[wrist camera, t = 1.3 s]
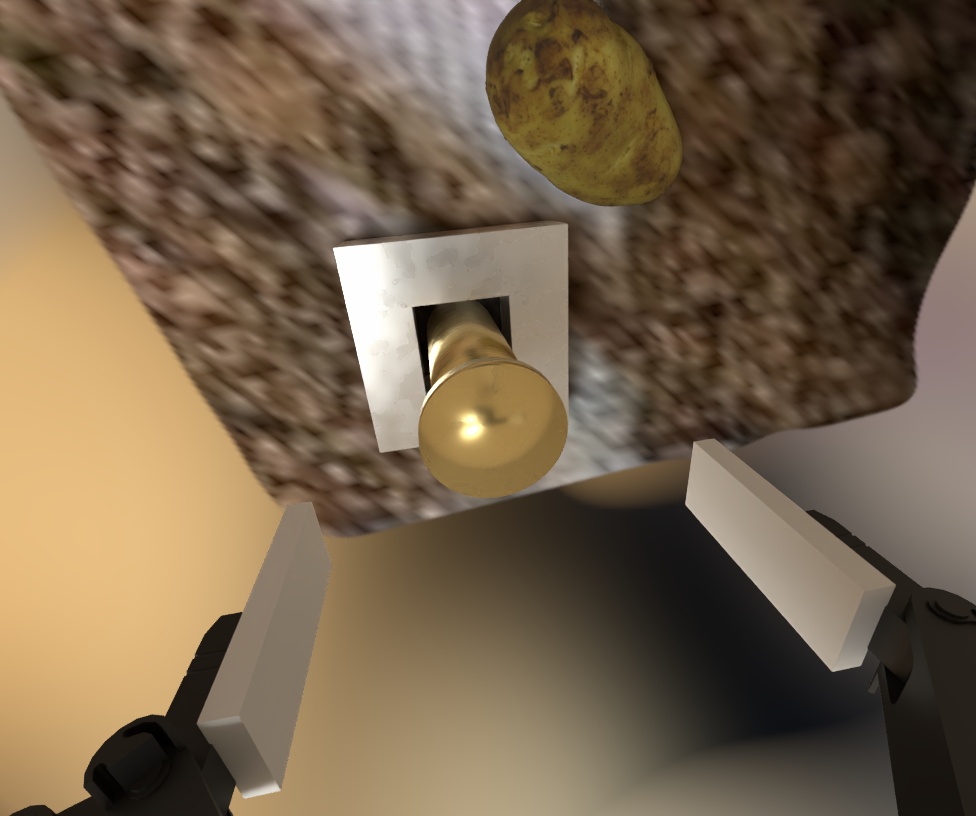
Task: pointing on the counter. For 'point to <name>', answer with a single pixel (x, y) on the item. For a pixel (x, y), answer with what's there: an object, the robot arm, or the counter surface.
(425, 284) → the housing
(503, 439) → the gold tall flared cylinder
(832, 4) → the counter surface
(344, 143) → the counter surface
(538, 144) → the potato
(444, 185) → the counter surface
